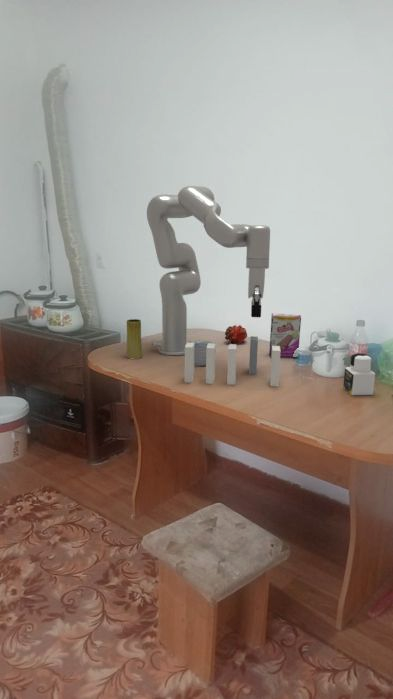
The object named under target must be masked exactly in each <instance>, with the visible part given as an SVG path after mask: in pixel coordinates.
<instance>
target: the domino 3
mask: <svg viewBox="0 0 393 699" xmlns="http://www.w3.org/2000/svg"><path fill="white" fill-rule="evenodd" d="M237 344H238V343H236V344H235V343H233V344H231V343H229V344H228V348H227V349H228V350H227V351H228V352H227V353H228V354H227V375H226V376H227V379H226V380H227V382H226V383H227V385H231V386H232V385H233V386H235V385H236V379H237V378H236V374H237V350H238V349H237V346H238V345H237Z"/></svg>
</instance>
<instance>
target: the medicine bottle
mask: <svg viewBox="0 0 393 699" xmlns="http://www.w3.org/2000/svg"><path fill="white" fill-rule="evenodd" d="M371 368H372V356H370V355H368V354H366V353H358V352H357V353H354V354H351V356H350V364H349V366H346V367H345V368H344V374H343V375H344V376H343V389H344V390H345V391H346V392H347V393H348V394H349V395H350V396H373V395H374V391H375V390H374V388H375V383H376V382H375V381H376V380H375V379H376V372H374V371H373V370H371Z"/></svg>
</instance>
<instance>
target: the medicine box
mask: <svg viewBox="0 0 393 699" xmlns="http://www.w3.org/2000/svg"><path fill="white" fill-rule="evenodd" d="M188 343H195V346H194V367H204V366H205V367H206V348H207V345H208V343H213V342H212V341H211V339H210V340H209V339H201V340H200V339H199V340H189V342H188Z"/></svg>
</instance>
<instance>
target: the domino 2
mask: <svg viewBox="0 0 393 699" xmlns="http://www.w3.org/2000/svg"><path fill="white" fill-rule="evenodd" d="M215 376H216V343H213V342H212V343H208V345H207V348H206V366H205V384H206V385H207V384H208V385H209V384H210V385H213V384H214V382H215V378H216V377H215Z"/></svg>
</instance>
